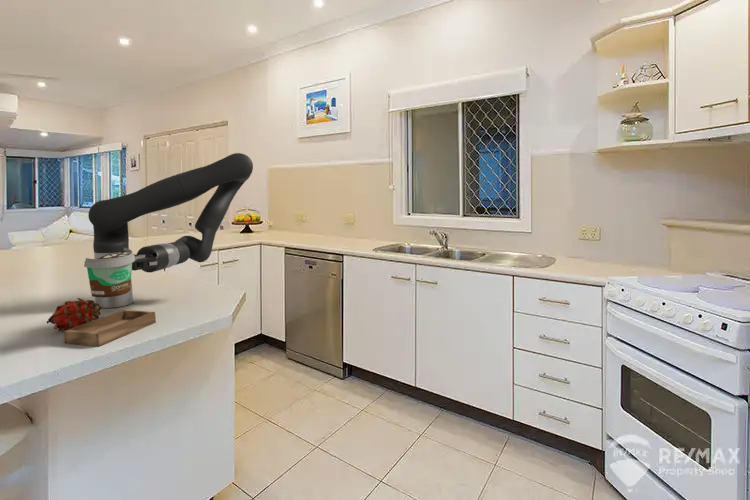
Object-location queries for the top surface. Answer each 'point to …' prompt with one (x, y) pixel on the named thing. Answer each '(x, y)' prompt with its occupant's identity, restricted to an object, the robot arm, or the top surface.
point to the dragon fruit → (74, 314)
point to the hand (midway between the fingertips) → (108, 268)
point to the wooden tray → (109, 328)
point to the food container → (110, 274)
